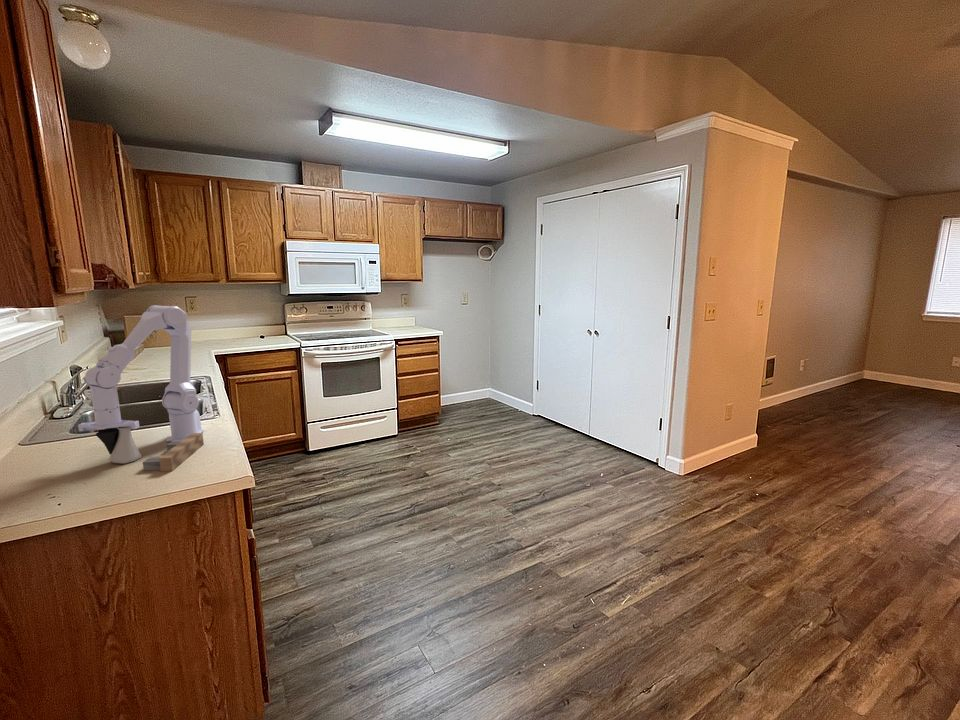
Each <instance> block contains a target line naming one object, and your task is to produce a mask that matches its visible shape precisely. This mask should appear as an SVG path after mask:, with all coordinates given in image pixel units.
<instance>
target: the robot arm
mask: <svg viewBox="0 0 960 720" xmlns="http://www.w3.org/2000/svg"><path fill="white" fill-rule="evenodd" d="M187 317H188V313H187V312H186V311H184V310H183V309H182V308H181V307H179V306H176V305H171V306H170V305H157V304H154V305H151V306H149V307H148V308H147V309H146V311H144V312H143V313H142V314H141V318H140V320H139V321H138V322H137V324H136V326H134V328H133V329H132V330H131V332H129V334H128V336H127V337H126V338H125V339H124V341H123V342H122V343H120V344H114V345H113V346H110V347H109V348H108V349H107V351H108V352H107V353H106V354H105V355H104V356H103V358H102V359H100V361H97V362H96V363H95V365H96V366H93V367H89V368H88V370H87V371H86V372H85V376H84V377H83V378H82V380H83V382H84V384H86V385H88V386H89V390H90V396H91V403H92V409H93V414H94V421H90V422H81V423H80V424H78V425H77V427H78V432H84V431H97V432H96V433H95V436H96V437H97V438H98V439H99V440H100V441H101V442H102V443H103V444H104V446H105V448H106V450H107V451H108V453H109V455H111V453H112V451H113V449H114V447H115V444H116V442H117V439H118V435H119V430H118V429H117V428H118V427H119V428H123V429H124V428H129V427H130V429H131V430H136V429H138V428H140V421H139V420H129V419H127V420H126V419H122V416H121V410H120V409H121V407H120V401H119V394H118V388H117V385H118V384H119V383H120V381H121V379H122V378H121V376H122V373H123V371H124V370H125V369H126V368H127V366H128V365H130V363H131V362H132V361H133V360H134V359H135V357H136V353H135V352H136V351H135V350H136V349H137V348H138V347H139V346H140V345H141V344H142V343H143V342H144V341H145V340H146V339H147V338H148V337H149V336H150V335H151V334H152V333H153V332H154V331H158V330H164V331H165V332H167V333H168V334H169V336H170V377H169V378H170V379H169V384H167V386H166V387H164V393H163V396H162V398H161V403H162V406H163V407H164V408H165V409H166V410H167V413H168V418H169V427H170V434H171V436H170V437H168V438H167V439H166V440H165V441H166V442H171V441H173V440H184V439H185V438H186V437H188V436H189V435H190V434H192V433H204V432H205V429H202V426H201V415H200V412H199V411H198V409H197V408H198V406H199V404H200V403H199V397H198V395H197V389H196V388H195V387H194V385H192V383H191V367H192V366H191V359H192V357H191V356H192V352H191V351H192V329H191V326H190V324H189V322H188V318H187Z"/></svg>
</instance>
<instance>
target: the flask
mask: <svg viewBox="0 0 960 720" xmlns="http://www.w3.org/2000/svg"><path fill="white" fill-rule="evenodd" d="M117 429H118V430H119V435H118V439H117V442H116V444H115V447H114V449H113V451H112V453H111V454H110V455H109V458H108V461H110V462H111V463H113V464H127V463H131V462H136V461H137V460H139V459H140V458H142V454H141V452H140V451H139V449H138V446H137V445H136V443H135V441H134V438H133V436H132V431H131V430H132V429H130V427H129V428H124V429H123V428H119V427H118V428H117Z"/></svg>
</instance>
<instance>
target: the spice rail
mask: <svg viewBox="0 0 960 720" xmlns="http://www.w3.org/2000/svg"><path fill="white" fill-rule="evenodd" d="M203 433H204V432H202V433H192V434H190V435H189V436H188V437H186V438H185V439H184V440H173V441H169V443H167V444H166V450H167V452H165V453H164V454H163V455H153V456H148V458H146V459H145V460H143V461H142V466H143V467H142V468H143V471H144V472H145V471H160V472H163V473H164V472H173V471H175V470H176V469H177V468H178V467H179V466H180V465H182V464H183V463H184V462H185V461H186V460H188V459H189V458H190V457H191V456H192V455H193V454H195V453H196V452H197V451H198V450H199V449H200V448H202V447H203V445H204V444H205V443H204V435H203Z"/></svg>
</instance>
